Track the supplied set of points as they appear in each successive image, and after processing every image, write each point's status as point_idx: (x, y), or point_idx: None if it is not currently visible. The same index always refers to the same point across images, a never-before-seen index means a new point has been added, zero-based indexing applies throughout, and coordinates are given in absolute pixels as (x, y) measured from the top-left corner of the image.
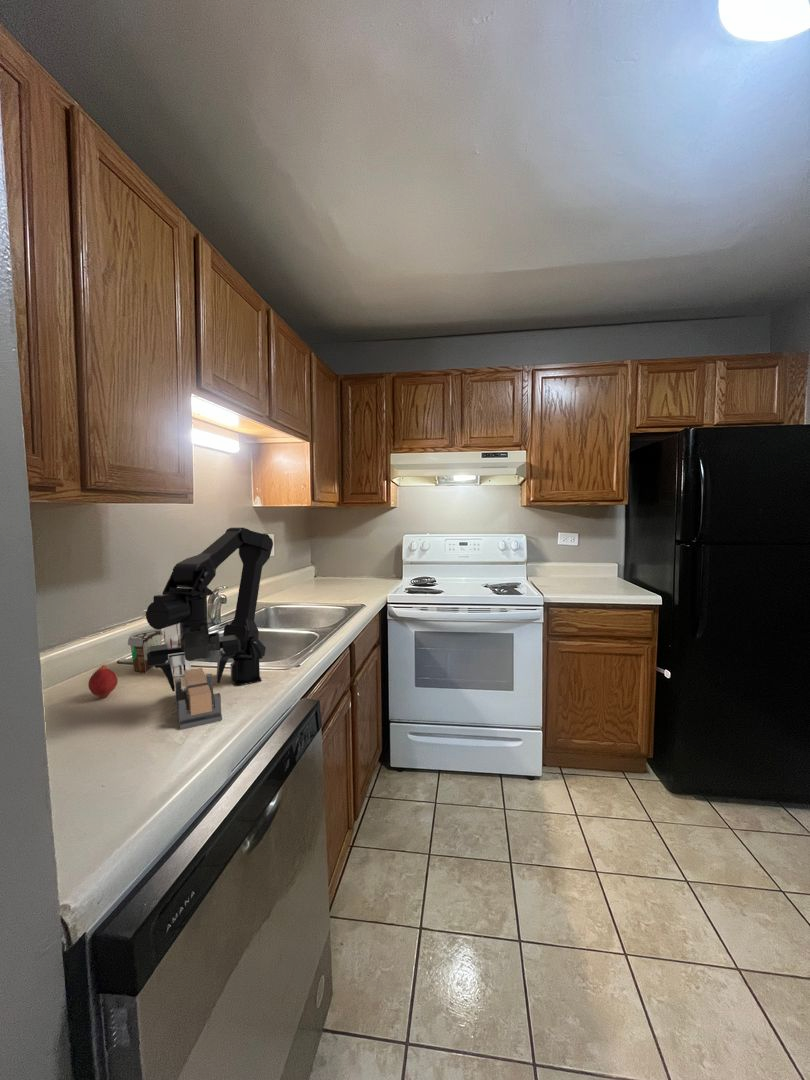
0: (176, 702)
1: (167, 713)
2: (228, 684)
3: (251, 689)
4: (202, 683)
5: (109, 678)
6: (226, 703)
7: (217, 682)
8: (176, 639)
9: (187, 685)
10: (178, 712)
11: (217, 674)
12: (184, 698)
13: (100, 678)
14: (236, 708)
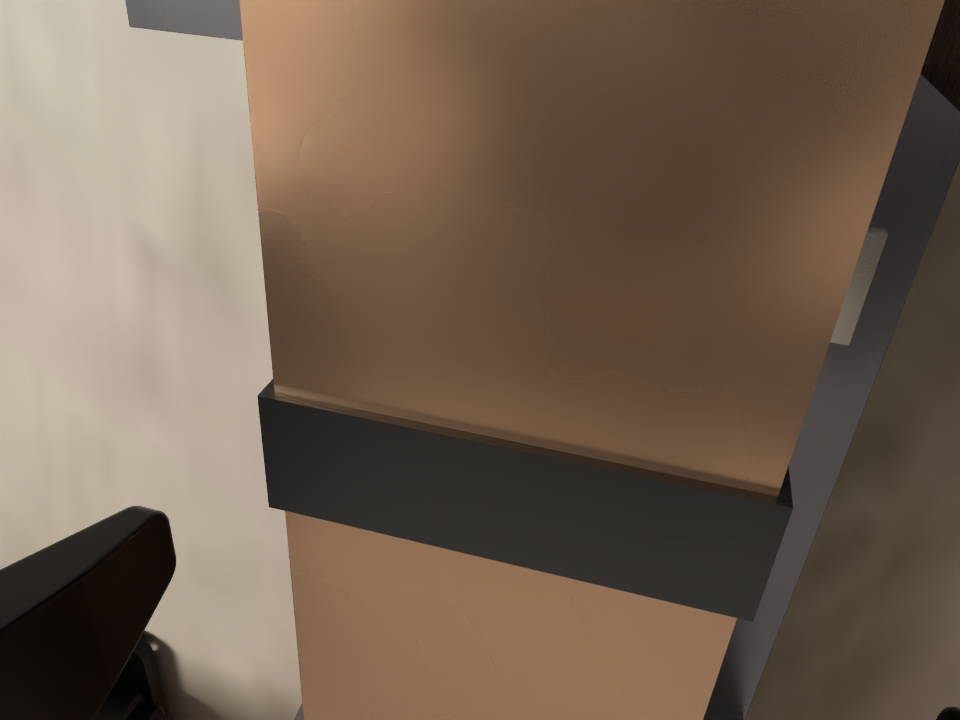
0: (762, 660)
1: (937, 516)
2: (215, 708)
3: (13, 484)
4: (391, 508)
5: None
6: (251, 323)
7: (169, 544)
8: None
9: (725, 649)
10: (881, 349)
11: (63, 667)
12: None
13: None
14: (140, 83)
